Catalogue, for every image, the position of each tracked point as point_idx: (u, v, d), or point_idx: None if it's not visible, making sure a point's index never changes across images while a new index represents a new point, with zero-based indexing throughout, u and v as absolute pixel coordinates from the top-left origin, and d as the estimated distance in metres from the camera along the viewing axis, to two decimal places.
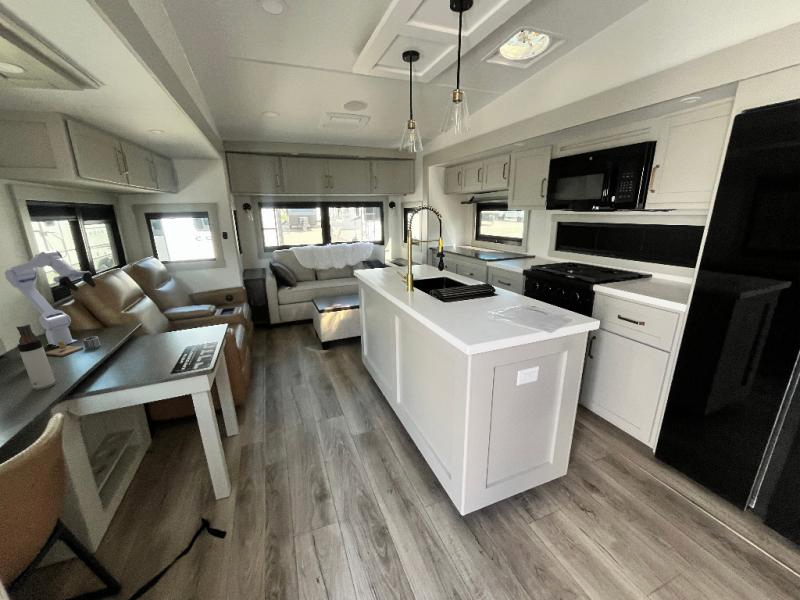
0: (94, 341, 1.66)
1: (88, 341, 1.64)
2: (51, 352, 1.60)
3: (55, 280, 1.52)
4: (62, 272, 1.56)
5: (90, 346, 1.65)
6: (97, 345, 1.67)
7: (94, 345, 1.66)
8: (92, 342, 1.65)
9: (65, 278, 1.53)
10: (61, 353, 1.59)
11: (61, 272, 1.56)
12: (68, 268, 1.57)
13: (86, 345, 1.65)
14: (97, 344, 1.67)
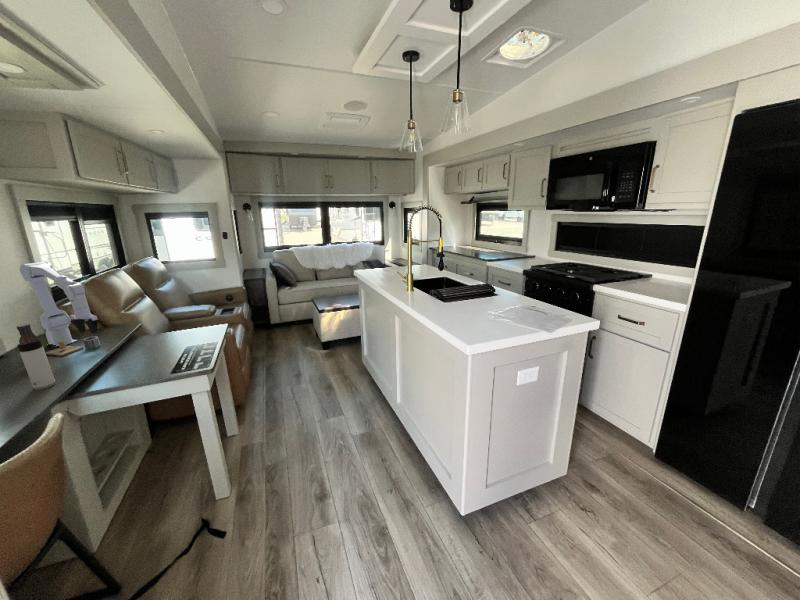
0: (94, 341, 1.66)
1: (88, 341, 1.64)
2: (51, 352, 1.60)
3: None
4: None
5: (90, 346, 1.65)
6: (97, 345, 1.67)
7: (94, 345, 1.66)
8: (92, 342, 1.65)
9: (71, 322, 1.63)
10: (61, 353, 1.59)
11: None
12: (75, 313, 1.60)
13: (86, 345, 1.65)
14: (97, 344, 1.67)
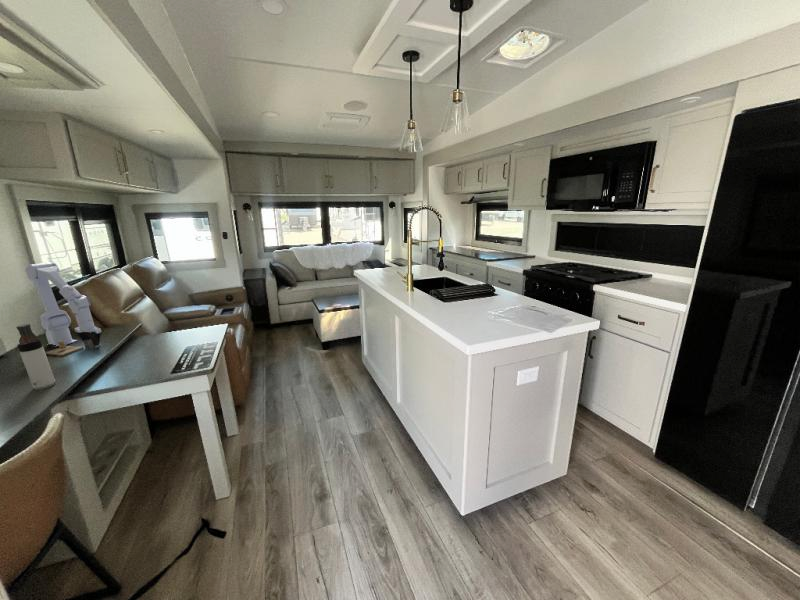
0: None
1: (88, 341, 1.64)
2: (51, 352, 1.60)
3: None
4: None
5: (90, 346, 1.65)
6: (97, 345, 1.67)
7: None
8: None
9: (77, 335, 1.64)
10: (61, 353, 1.59)
11: None
12: (79, 326, 1.62)
13: (86, 345, 1.65)
14: None
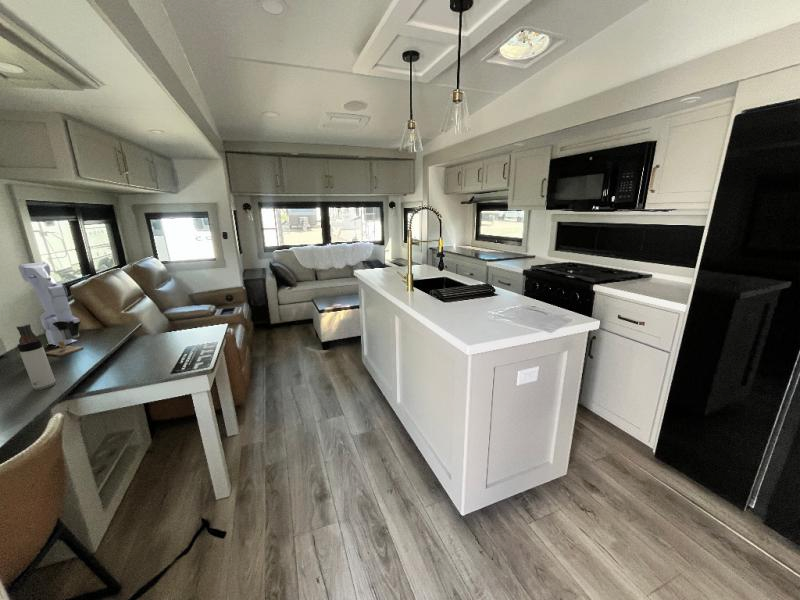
0: None
1: (66, 331, 1.60)
2: (51, 352, 1.60)
3: None
4: None
5: (68, 336, 1.60)
6: None
7: None
8: None
9: (54, 324, 1.60)
10: (61, 353, 1.59)
11: None
12: (56, 315, 1.57)
13: (64, 335, 1.60)
14: None
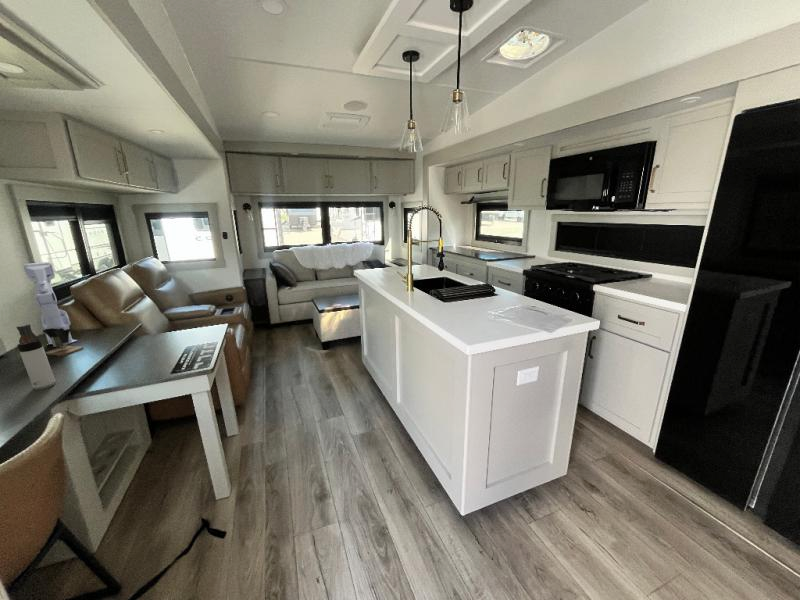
0: None
1: (55, 338, 1.58)
2: (51, 352, 1.60)
3: None
4: None
5: (58, 343, 1.59)
6: None
7: None
8: None
9: (44, 332, 1.59)
10: (61, 353, 1.59)
11: None
12: (46, 322, 1.56)
13: (54, 342, 1.59)
14: None
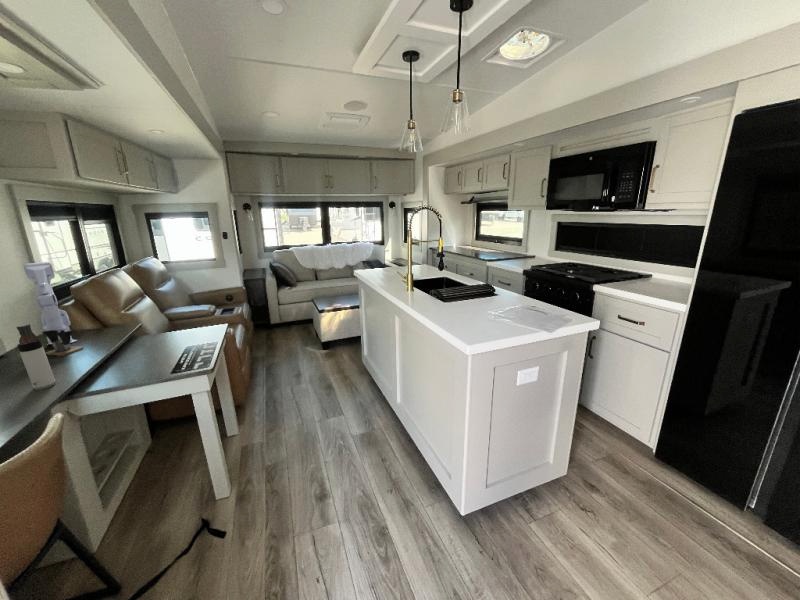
0: None
1: (58, 343, 1.59)
2: (51, 352, 1.60)
3: None
4: None
5: (60, 349, 1.60)
6: (67, 347, 1.63)
7: (64, 348, 1.61)
8: (62, 344, 1.60)
9: (43, 333, 1.59)
10: (61, 353, 1.59)
11: None
12: (46, 324, 1.56)
13: (56, 348, 1.60)
14: (67, 346, 1.63)
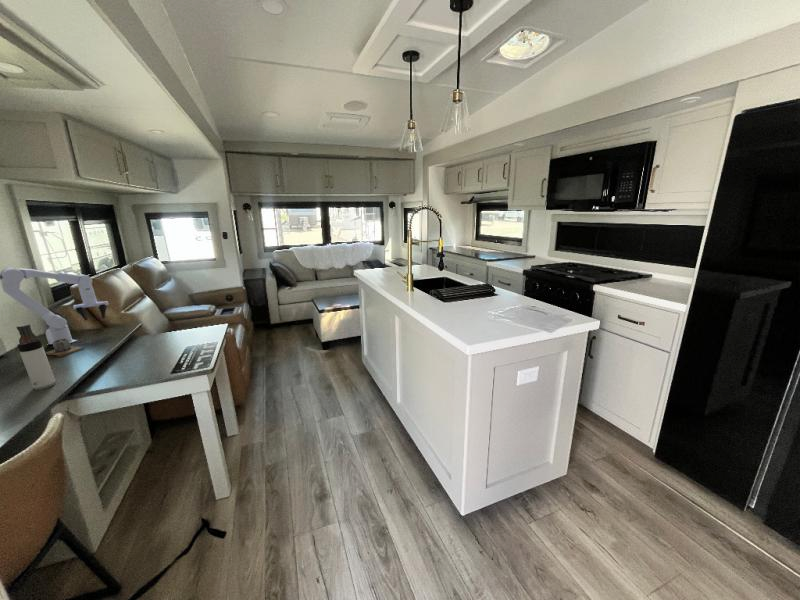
0: (64, 343, 1.61)
1: (58, 343, 1.59)
2: (51, 352, 1.60)
3: None
4: None
5: (60, 349, 1.60)
6: (67, 347, 1.63)
7: (64, 348, 1.61)
8: (62, 344, 1.60)
9: (78, 311, 1.77)
10: (61, 353, 1.59)
11: (82, 300, 1.78)
12: (86, 300, 1.77)
13: (56, 348, 1.60)
14: (67, 346, 1.63)
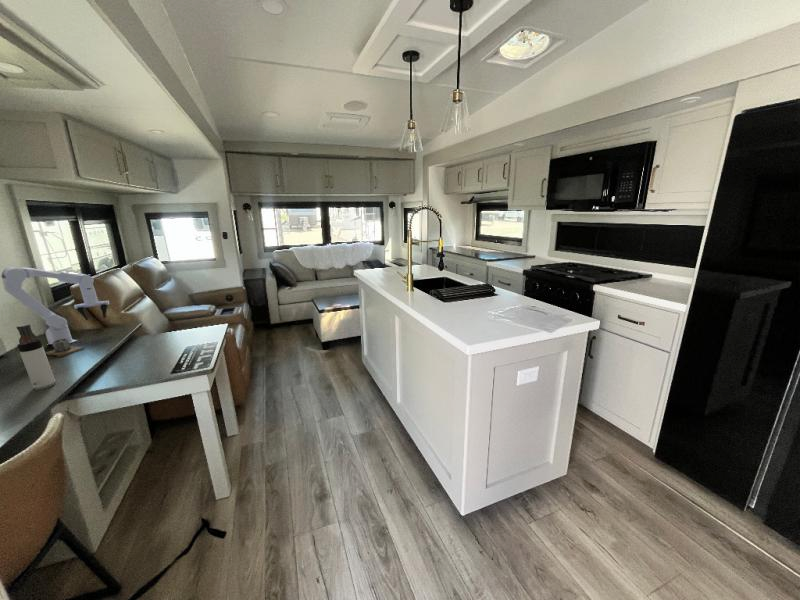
0: (64, 343, 1.61)
1: (58, 343, 1.59)
2: (51, 352, 1.60)
3: None
4: None
5: (60, 349, 1.60)
6: (67, 347, 1.63)
7: (64, 348, 1.61)
8: (62, 344, 1.60)
9: (79, 310, 1.78)
10: (61, 353, 1.59)
11: None
12: (88, 300, 1.78)
13: (56, 348, 1.60)
14: (67, 346, 1.63)
